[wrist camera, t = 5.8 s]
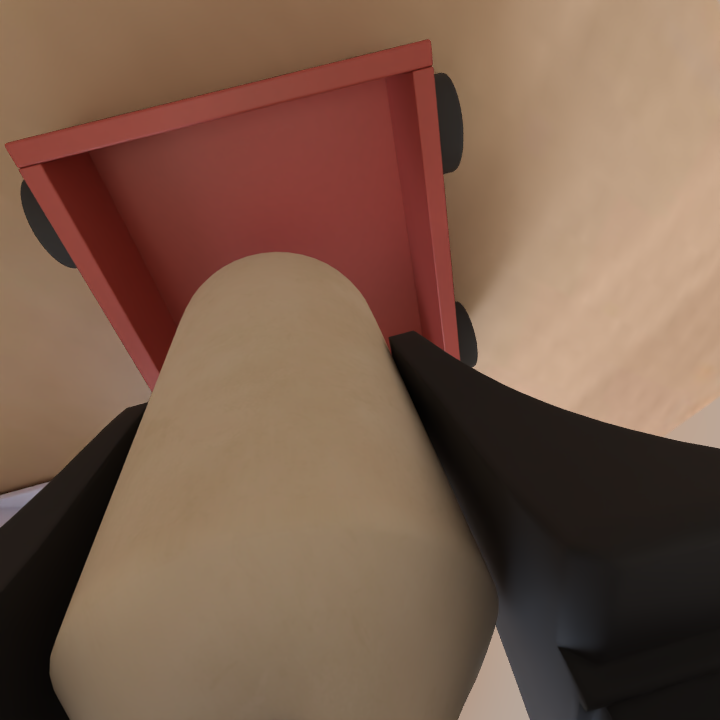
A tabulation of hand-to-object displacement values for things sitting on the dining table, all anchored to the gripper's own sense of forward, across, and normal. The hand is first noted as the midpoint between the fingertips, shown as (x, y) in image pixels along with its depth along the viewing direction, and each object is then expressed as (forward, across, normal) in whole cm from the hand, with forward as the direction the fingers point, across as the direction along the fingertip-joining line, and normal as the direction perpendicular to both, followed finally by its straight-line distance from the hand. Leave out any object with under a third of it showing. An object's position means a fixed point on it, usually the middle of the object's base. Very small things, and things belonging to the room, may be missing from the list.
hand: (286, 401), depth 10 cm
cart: (+9, 0, 0) cm, 9 cm away
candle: (+3, 0, 0) cm, 3 cm away
